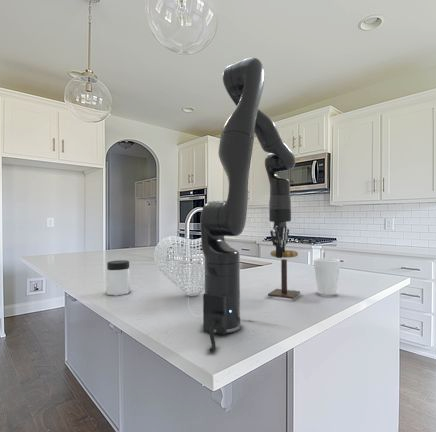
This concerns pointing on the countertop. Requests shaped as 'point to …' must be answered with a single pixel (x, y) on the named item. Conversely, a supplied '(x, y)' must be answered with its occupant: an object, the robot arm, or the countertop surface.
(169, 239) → the heart
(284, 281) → the post
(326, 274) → the foam cup
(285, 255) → the ring
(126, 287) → the jar
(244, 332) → the countertop surface
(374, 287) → the countertop surface
